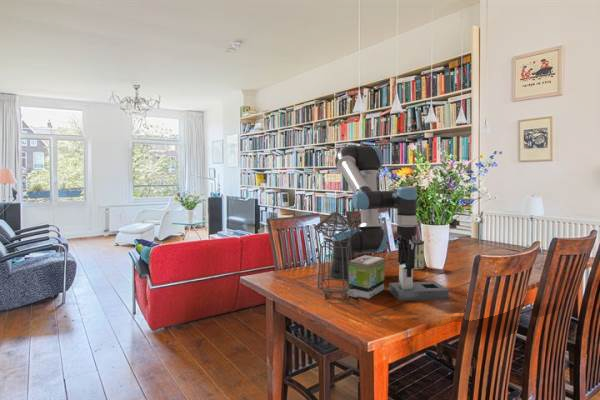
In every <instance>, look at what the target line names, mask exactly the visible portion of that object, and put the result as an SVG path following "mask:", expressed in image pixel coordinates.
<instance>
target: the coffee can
mask: <svg viewBox="0 0 600 400" xmlns="http://www.w3.org/2000/svg"><path fill="white" fill-rule="evenodd" d="M412 240H413V244H415V245H416V247H415V266H414V268H413V270H422V269H424V266H425V263H424V262H425V261H424V259H425V257H424V256H425V241H424V240H421V239H413V238H412Z"/></svg>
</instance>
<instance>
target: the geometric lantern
mask: <svg viewBox="0 0 600 400" xmlns="http://www.w3.org/2000/svg"><path fill="white" fill-rule="evenodd" d="M330 218H331V219H330ZM338 219H339V221H340V222H338ZM329 220H330V221H329ZM332 221H333V222H332ZM324 224H326V225H327V227H323V226H324ZM338 225H342V227H341V228H342V229H340V228H338ZM356 225H357V222H355V221H353V220H351V219H350V218H348V217H346V216H344V215H342V214H340V213H339V211H338V212H337V211H334V212H331V213H329V214H328V215H327V216H326V217H324V218H323V219H322V220H320V222H318V223H317V224H316V225H315V226H314V227H313V229H314V230H316V231H317V235H318V242H319V244H318V245H319V257H318V259H319V260H318V275H317V277H318V278H317V289H319V290H320V291H322V292H323V293H324V296H323V297H324V298H327V299H328V298H329V299H342V300H343V299H345V298H346V296H347V293H348V290H350V288H351V286H350V284H349V244H350V257H351V260H352V253H351V243H350V242H351V238H352V234H353V231H354V228H356ZM329 227H330V228H332V229H329ZM345 227H346V228H345ZM348 227H349V228H350V229H351V233H350V238H349V239H348V237H347V236H346V237H347V239H348V241H338V239H337V238H336V236H337V235H339V234H341V233H343V232H344V234H345V231H347V230H349V228H348ZM343 228H345V229H343ZM352 228H353V229H352ZM323 230H325V231H323ZM335 231H342V232H340V233H338V234H336V235H334V232H335ZM328 232H332V234H331V235H328ZM321 233H322V234H323V236H324V239H325V240H324V241H322V242H321V236H320V234H321ZM345 235H346V234H345ZM333 237H335V238H336V240H337V241H332V240H331V239H333ZM349 240H350V241H349ZM331 242H332V243H333V242H338V243H339V245H340V246H341V247H333V246H331ZM340 242H348V243H347V246H346V247H342V245H341V244H340ZM327 243H328V246H327ZM347 247H348V253H347ZM327 248H328V260H327V261H328V265H327V266H328V268H327V269H328V270H327V278H325V274H326V272H325V271H326V270H325V269H326V255H327V254H326V252H327ZM331 248H332V249H333V248H342V272H343V279H339V278H330V275H329V270H330V267H331V263H330V262H331V261H330V259H331ZM343 248H346V259H347V275H348V279H344V263H343ZM320 273H321V274H320ZM320 275H321V282H320ZM325 281H327V283H326V282H325ZM329 281H340V282H342V286H338V288H336V285H335V286H330V282H329ZM345 282H346V283H345ZM323 283H324V284H323ZM324 285H325V286H326V287H324ZM339 288H340V289H339ZM328 294H331V295H341V296H342V297H339V296H337V297H335V296H328Z"/></svg>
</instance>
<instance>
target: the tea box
mask: <svg viewBox="0 0 600 400" xmlns="http://www.w3.org/2000/svg"><path fill="white" fill-rule="evenodd" d="M385 266H386V259H385V257H384V258H383V257H379V256H373V255H372V256H371V255H367V254H365V255H362V256H358V257H356V259H354V260H351V261H349V284H350V286H351V288H350V290H348V291H347V296H348V297H352V298H358V297H359V298H365V299H371V298H372V297H374V296H376V295H378V293H381V292H382V291H383V290H384V289H385V274H386V273H385V270H386V269H385V268H386V267H385Z"/></svg>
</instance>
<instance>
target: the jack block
mask: <svg viewBox="0 0 600 400" xmlns="http://www.w3.org/2000/svg"><path fill="white" fill-rule="evenodd" d="M388 291H389V293H390V294H391V295H392V296H393V297H394V298H395V299H396V300H397V301H398V302H401V301H404V302H406V301H430V300H431V301H433V300H437V301H438V300H449V297H450V296H449V289H447V288H446V287H444V285H441V284H440V283H439V282H437V281H413V289H401V288H400V287H399V282H389V283H388Z"/></svg>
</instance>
